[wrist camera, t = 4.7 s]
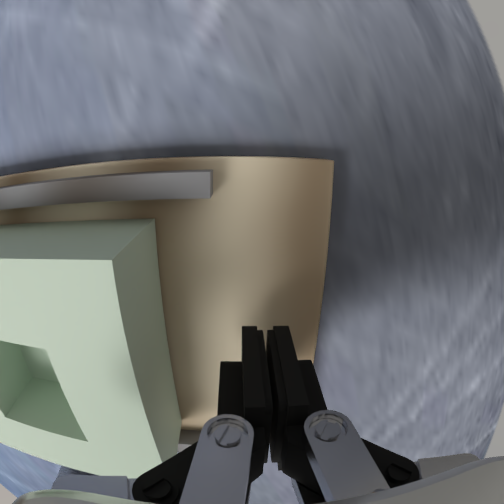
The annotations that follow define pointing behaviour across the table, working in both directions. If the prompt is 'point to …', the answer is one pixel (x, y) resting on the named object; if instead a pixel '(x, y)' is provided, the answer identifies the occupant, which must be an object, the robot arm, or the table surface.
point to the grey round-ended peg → (71, 472)
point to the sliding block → (86, 346)
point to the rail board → (206, 249)
